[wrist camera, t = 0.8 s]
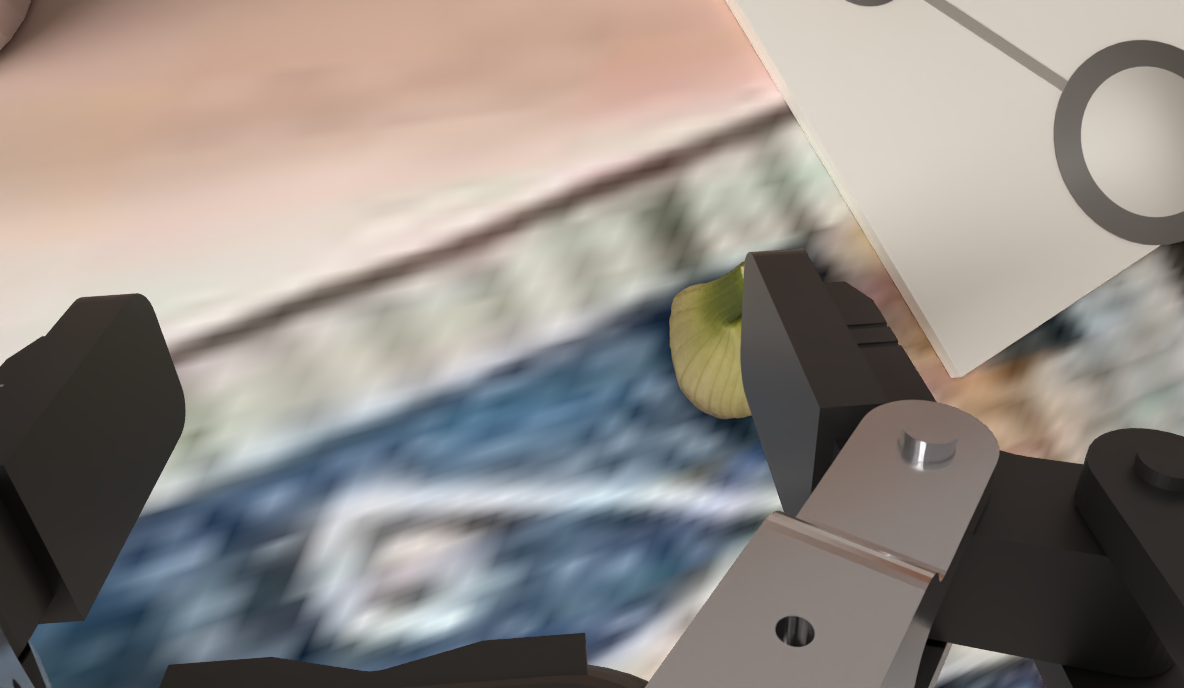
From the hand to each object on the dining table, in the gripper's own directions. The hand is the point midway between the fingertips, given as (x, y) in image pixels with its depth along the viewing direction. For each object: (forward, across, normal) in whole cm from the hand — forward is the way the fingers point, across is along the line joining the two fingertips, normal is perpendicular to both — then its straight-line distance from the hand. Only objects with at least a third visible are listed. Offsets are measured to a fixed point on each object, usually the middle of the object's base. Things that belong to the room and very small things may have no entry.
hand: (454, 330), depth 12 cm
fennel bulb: (+20, -7, +14) cm, 26 cm away
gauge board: (+28, -22, +6) cm, 36 cm away
